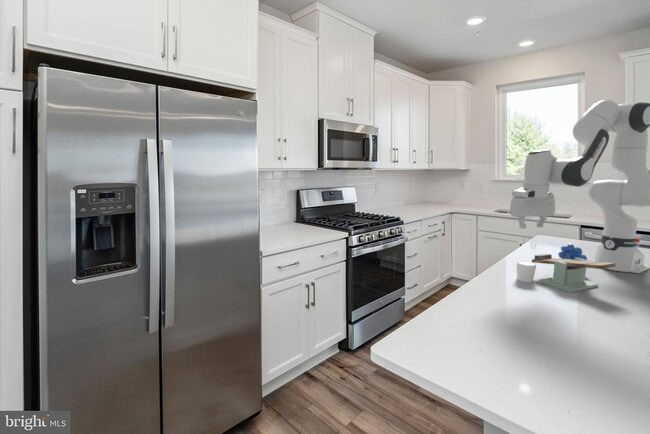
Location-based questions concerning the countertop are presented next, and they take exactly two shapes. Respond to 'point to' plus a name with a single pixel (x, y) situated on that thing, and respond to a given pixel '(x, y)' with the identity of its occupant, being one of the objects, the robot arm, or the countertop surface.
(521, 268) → the white cup
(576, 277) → the pivot stand
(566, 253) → the grapes
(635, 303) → the countertop surface
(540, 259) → the seesaw beam
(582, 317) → the countertop surface
